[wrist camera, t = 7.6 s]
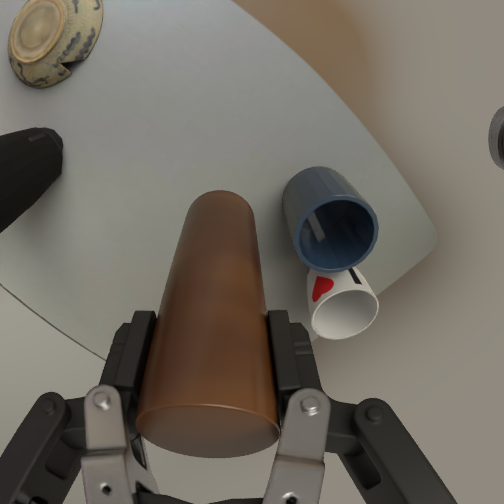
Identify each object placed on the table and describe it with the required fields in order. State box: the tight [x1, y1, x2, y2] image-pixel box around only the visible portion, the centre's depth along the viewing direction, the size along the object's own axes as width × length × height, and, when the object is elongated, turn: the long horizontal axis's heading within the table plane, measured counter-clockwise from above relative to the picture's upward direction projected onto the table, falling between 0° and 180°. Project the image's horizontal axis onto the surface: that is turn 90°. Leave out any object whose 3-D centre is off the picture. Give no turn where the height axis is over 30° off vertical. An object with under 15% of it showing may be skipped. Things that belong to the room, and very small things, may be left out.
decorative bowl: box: [8, 0, 103, 88], centre depth 20 cm, size 15×4×15 cm
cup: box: [307, 267, 379, 339], centre depth 37 cm, size 8×8×10 cm
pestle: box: [135, 190, 281, 458], centre depth 14 cm, size 4×4×14 cm
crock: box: [282, 167, 379, 273], centre depth 32 cm, size 9×9×9 cm
